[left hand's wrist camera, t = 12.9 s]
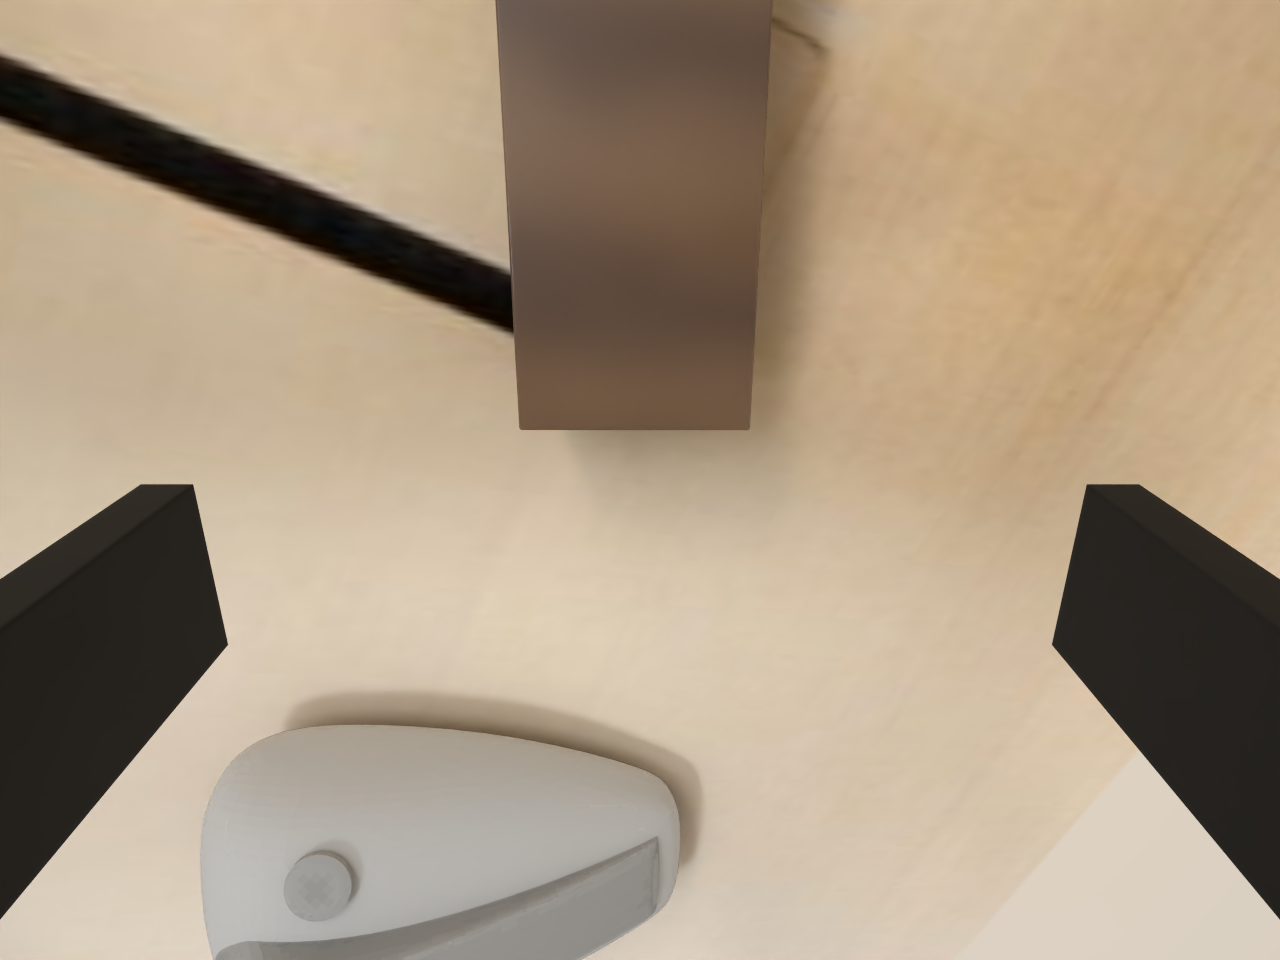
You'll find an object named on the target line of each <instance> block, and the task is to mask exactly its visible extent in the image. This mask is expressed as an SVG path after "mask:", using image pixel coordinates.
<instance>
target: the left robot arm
mask: <svg viewBox="0 0 1280 960" xmlns="http://www.w3.org/2000/svg"><path fill="white" fill-rule="evenodd" d="M227 645H228V643H227V638H226V633H225V629H224V624H223V620H222V615H221V610H220V606H219V601H218V597H217V592H216V587H215V583H214V578H213V574H212V569H211V564H210V560H209V555H208V551H207V546H206V541H205V537H204V532H203V528H202V523H201V518H200V514H199V509H198V505H197V500H196V495H195V491H194V486H193V484H141V485H139V486H138V487H136V488H135V489H133V490H132V491H131V492H129V493H128V494H126V495H125V496H123V497H122V498H120V499H119V500H117V501H116V502H114V503H113V504H111V505H110V506H108V507H107V508H105V509H104V510H102V511H101V512H99V513H98V514H96V515H95V516H93V517H92V518H90V519H89V520H88V521H86V522H85V523H83V524H82V525H80V526H79V527H77V528H76V529H74V530H73V531H71V532H70V533H68V534H67V535H65V536H64V537H62V538H61V539H59V540H58V541H56V542H55V543H53V544H52V545H50V546H49V547H47V548H46V549H45V550H43V551H42V552H40V553H39V554H37V555H36V556H34V557H33V558H31V559H30V560H28V561H27V562H25V563H24V564H22V565H21V566H19V567H18V568H16V569H15V570H13V571H12V572H10V573H9V574H7V575H6V576H4V577H3V578H1V579H0V919H1V918H2V917H3V915H4V914H5V913H6V912H7V911H8V909H9V908H10V907H11V906H12V905H13V903H14V902H15V901H16V900H17V899H18V897H19V896H20V895H21V894H22V892H23V891H24V890H25V889H26V888H27V886H28V885H29V884H30V883H31V882H32V880H33V879H34V878H35V877H36V876H37V874H38V873H39V872H40V871H41V870H42V868H43V867H44V866H45V865H46V864H47V862H48V861H49V860H50V859H51V858H52V856H53V855H54V854H55V853H56V851H57V850H58V849H59V848H60V847H61V845H62V844H63V843H64V842H65V841H66V839H67V838H68V837H69V836H70V835H71V833H72V832H73V831H74V830H75V829H76V827H77V826H78V825H79V824H80V823H81V821H82V820H83V819H84V818H85V817H86V815H87V814H88V813H89V812H90V811H91V809H92V808H93V807H94V806H95V804H96V803H97V802H98V801H99V800H100V798H101V797H102V796H103V795H104V794H105V792H106V791H107V790H108V789H109V788H110V786H111V785H112V784H113V783H114V782H115V780H116V779H117V778H118V777H119V776H120V774H121V773H122V772H123V771H124V770H125V768H126V767H127V766H128V765H129V763H130V762H131V761H132V760H133V759H134V757H135V756H136V755H137V754H138V753H139V751H140V750H141V749H142V748H143V747H144V745H145V744H146V743H147V742H148V741H149V739H150V738H151V737H152V736H153V735H154V733H155V732H156V731H157V730H158V729H159V727H160V726H161V725H162V724H163V722H164V721H165V720H166V719H167V718H168V716H169V715H170V714H171V713H172V712H173V710H174V709H175V708H176V707H177V706H178V704H179V703H180V702H181V701H182V700H183V698H184V697H185V696H186V695H187V694H188V692H189V691H190V690H191V689H192V688H193V686H194V685H195V684H196V683H197V681H198V680H199V679H200V678H201V677H202V675H203V674H204V673H205V672H206V671H207V669H208V668H209V667H210V666H211V665H212V663H213V662H214V661H215V660H216V659H217V657H218V656H219V655H220V654H221V653H222V651H223V650H224V649H225V648H226V647H227ZM1052 645H1053V647H1054V648H1055V649H1056V650H1057V651H1058V653H1059V654H1060V655H1061V656H1062V657H1063V659H1064V660H1065V661H1066V662H1067V663H1068V665H1069V666H1070V667H1071V668H1072V669H1073V671H1074V672H1075V673H1076V674H1077V675H1078V677H1079V678H1080V679H1081V680H1082V682H1083V683H1084V684H1085V685H1086V686H1087V688H1088V689H1089V690H1090V691H1091V692H1092V694H1093V695H1094V696H1095V697H1096V698H1097V700H1098V701H1099V702H1100V703H1101V704H1102V706H1103V707H1104V708H1105V709H1106V710H1107V712H1108V713H1109V714H1110V715H1111V716H1112V718H1113V719H1114V720H1115V721H1116V722H1117V724H1118V725H1119V726H1120V727H1121V729H1122V730H1123V731H1124V732H1125V733H1126V735H1127V736H1128V737H1129V738H1130V739H1131V741H1132V742H1133V743H1134V744H1135V745H1136V747H1137V748H1138V749H1139V750H1140V751H1141V753H1142V754H1143V755H1144V756H1145V757H1146V759H1147V760H1148V761H1149V762H1150V763H1151V765H1152V766H1153V767H1154V768H1155V770H1156V771H1157V772H1158V773H1159V774H1160V776H1161V777H1162V778H1163V779H1164V780H1165V782H1166V783H1167V784H1168V785H1169V786H1170V788H1171V789H1172V790H1173V791H1174V792H1175V794H1176V795H1177V796H1178V797H1179V798H1180V800H1181V801H1182V802H1183V803H1184V804H1185V806H1186V807H1187V808H1188V809H1189V810H1190V812H1191V813H1192V814H1193V815H1194V816H1195V818H1196V819H1197V820H1198V821H1199V823H1200V824H1201V825H1202V826H1203V827H1204V829H1205V830H1206V831H1207V832H1208V833H1209V835H1210V836H1211V837H1212V838H1213V839H1214V841H1215V842H1216V843H1217V844H1218V845H1219V847H1220V848H1221V849H1222V850H1223V851H1224V853H1225V854H1226V855H1227V856H1228V858H1229V859H1230V860H1231V861H1232V862H1233V863H1234V865H1235V866H1236V867H1237V868H1238V870H1239V871H1240V872H1241V873H1242V874H1243V876H1244V877H1245V878H1246V879H1247V880H1248V882H1249V883H1250V884H1251V885H1252V886H1253V888H1254V889H1255V890H1256V891H1257V892H1258V894H1259V895H1260V896H1261V897H1262V898H1263V900H1264V901H1265V902H1266V903H1267V905H1268V906H1269V907H1270V908H1271V909H1272V911H1273V912H1274V913H1275V914H1276V915H1277V917H1278V918H1279V919H1280V579H1279V578H1277V577H1276V576H1274V575H1273V574H1271V573H1270V572H1268V571H1267V570H1265V569H1264V568H1262V567H1261V566H1259V565H1258V564H1256V563H1255V562H1253V561H1252V560H1250V559H1249V558H1247V557H1246V556H1244V555H1243V554H1241V553H1240V552H1238V551H1237V550H1235V549H1234V548H1233V547H1231V546H1230V545H1228V544H1227V543H1225V542H1224V541H1222V540H1221V539H1219V538H1218V537H1216V536H1215V535H1213V534H1212V533H1210V532H1209V531H1207V530H1206V529H1204V528H1203V527H1201V526H1200V525H1198V524H1197V523H1195V522H1194V521H1192V520H1191V519H1190V518H1188V517H1187V516H1185V515H1184V514H1182V513H1181V512H1179V511H1178V510H1176V509H1175V508H1173V507H1172V506H1170V505H1169V504H1167V503H1166V502H1164V501H1163V500H1161V499H1160V498H1158V497H1157V496H1155V495H1154V494H1152V493H1151V492H1149V491H1148V490H1147V489H1145V488H1144V487H1142V486H1141V485H1139V484H1087V486H1086V491H1085V495H1084V500H1083V505H1082V509H1081V514H1080V518H1079V523H1078V528H1077V532H1076V537H1075V541H1074V546H1073V551H1072V555H1071V560H1070V564H1069V569H1068V574H1067V578H1066V583H1065V587H1064V592H1063V597H1062V601H1061V606H1060V610H1059V615H1058V620H1057V624H1056V629H1055V633H1054V638H1053V643H1052Z"/></svg>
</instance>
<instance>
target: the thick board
mask: <svg viewBox="0 0 1280 960" xmlns="http://www.w3.org/2000/svg"><path fill="white" fill-rule="evenodd" d="M495 1H496V18H497V36H498V54H499V72H500V90H501V108H502V126H503V144H504V161H505V179H506V197H507V215H508V233H509V251H510V269H511V287H512V304H513V322H514V340H515V358H516V376H517V394H518V412H519V428H520V429H521V430H749V428H750V414H751V395H752V376H753V358H754V339H755V320H756V302H757V283H758V264H759V246H760V227H761V208H762V190H763V171H764V152H765V133H766V115H767V96H768V77H769V59H770V40H771V21H772V3H773V0H495Z"/></svg>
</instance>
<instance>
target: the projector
mask: <svg viewBox="0 0 1280 960" xmlns="http://www.w3.org/2000/svg"><path fill="white" fill-rule="evenodd" d="M679 855H680V821H679V814H678V809H677V806H676V803H675V800H674V798H673V796H672V793H671V792H670V790H669V788H668V787H667V786H666V784H665V783H664V782H663V781H662V780H661V779H660V778H658V777H657V776H655V775H653V774H651V773H649V772H647V771H645V770H642V769H640V768H637V767H634V766H631V765H628V764H625V763H622V762H619V761H615V760H612V759H608V758H605V757H601V756H597V755H594V754H590V753H586V752H582V751H577V750H573V749H569V748H565V747H560V746H556V745H551V744H546V743H541V742H536V741H531V740H526V739H520V738H514V737H507V736H501V735H494V734H488V733H479V732H471V731H462V730H453V729H441V728H429V727H415V726H394V725H328V726H317V727H307V728H301V729H295V730H290V731H285V732H281V733H278V734H275V735H272V736H270V737H267V738H265V739H262V740H260V741H258V742H256V743H254V744H253V745H251V746H250V747H248V748H247V749H245V750H244V751H243V752H242V753H240V754H239V755H238V756H237V757H236V758H235V759H234V760H233V761H232V762H231V763H230V764H229V766H228V767H227V768H226V770H225V771H224V773H223V774H222V776H221V777H220V779H219V781H218V783H217V785H216V787H215V789H214V791H213V793H212V796H211V798H210V800H209V803H208V806H207V809H206V812H205V816H204V821H203V827H202V835H201V890H202V900H203V909H204V919H205V925H206V930H207V935H208V940H209V944H210V949H211V952H212V956H213V959H214V960H582V959H583V958H585V957H587V956H589V955H591V954H593V953H595V952H596V951H598V950H600V949H602V948H603V947H605V946H607V945H608V944H610V943H612V942H613V941H615V940H617V939H618V938H620V937H622V936H623V935H625V934H627V933H628V932H630V931H632V930H633V929H635V928H636V927H638V926H639V925H641V924H642V923H644V922H645V921H647V920H648V919H650V918H651V917H653V916H654V915H655V914H656V913H658V912H659V911H660V910H661V909H662V908H663V907H664V906H665V905H666V903H667V902H668V900H669V899H670V896H671V894H672V892H673V889H674V885H675V882H676V877H677V873H678V865H679Z"/></svg>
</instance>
